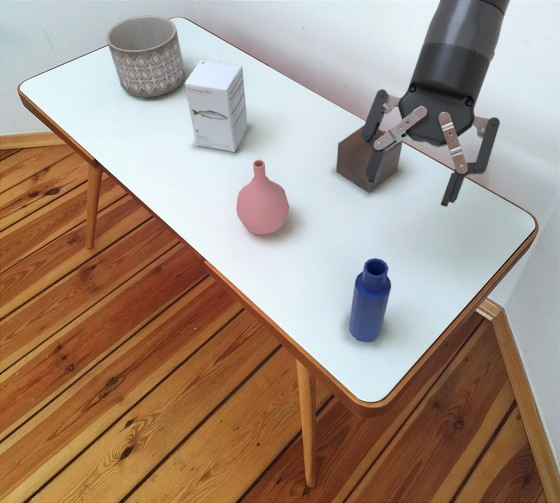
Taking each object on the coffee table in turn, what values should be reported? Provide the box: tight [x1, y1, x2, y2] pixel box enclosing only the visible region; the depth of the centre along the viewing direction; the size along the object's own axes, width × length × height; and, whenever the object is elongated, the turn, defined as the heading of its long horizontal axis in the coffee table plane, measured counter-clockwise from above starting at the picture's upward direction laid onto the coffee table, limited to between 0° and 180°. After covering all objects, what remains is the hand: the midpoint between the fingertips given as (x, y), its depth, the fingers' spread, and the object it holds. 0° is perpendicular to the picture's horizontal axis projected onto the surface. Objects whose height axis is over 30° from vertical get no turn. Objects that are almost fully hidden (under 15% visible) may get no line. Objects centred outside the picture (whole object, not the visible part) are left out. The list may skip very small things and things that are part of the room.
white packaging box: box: [184, 59, 248, 153], centre depth 86 cm, size 7×7×13 cm
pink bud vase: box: [235, 159, 290, 235], centre depth 73 cm, size 8×8×12 cm
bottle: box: [348, 257, 392, 343], centre depth 61 cm, size 4×4×13 cm
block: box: [335, 125, 403, 194], centre depth 82 cm, size 7×7×6 cm
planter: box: [105, 14, 186, 98], centre depth 98 cm, size 13×13×10 cm
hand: (407, 194), depth 59 cm, fingers open, 8 cm apart
